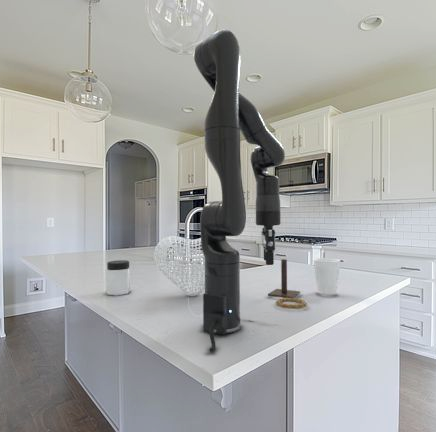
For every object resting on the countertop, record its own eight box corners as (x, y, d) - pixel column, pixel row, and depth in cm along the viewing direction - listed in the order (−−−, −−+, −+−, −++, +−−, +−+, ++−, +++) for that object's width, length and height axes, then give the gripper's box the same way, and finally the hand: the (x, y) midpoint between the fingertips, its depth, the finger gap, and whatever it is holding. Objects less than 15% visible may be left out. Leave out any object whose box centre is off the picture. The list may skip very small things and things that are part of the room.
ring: (301, 313, 92) (301, 307, 92) (271, 308, 97) (271, 302, 97) (309, 305, 100) (309, 299, 100) (281, 301, 105) (281, 295, 105)
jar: (126, 289, 124) (126, 259, 124) (133, 293, 118) (133, 261, 118) (103, 292, 119) (103, 261, 119) (109, 296, 112) (109, 264, 112)
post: (292, 301, 105) (292, 261, 105) (268, 297, 109) (267, 260, 110) (300, 295, 113) (299, 258, 113) (276, 292, 117) (276, 257, 117)
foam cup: (345, 295, 112) (345, 260, 112) (329, 299, 107) (329, 262, 107) (324, 290, 120) (323, 257, 120) (308, 294, 115) (308, 259, 115)
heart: (228, 290, 122) (228, 234, 122) (232, 300, 106) (232, 236, 106) (157, 291, 120) (157, 234, 120) (150, 302, 104) (150, 237, 104)
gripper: (254, 210, 101) (255, 259, 101) (256, 209, 87) (257, 266, 87) (277, 210, 101) (278, 259, 101) (283, 209, 87) (284, 266, 87)
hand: (268, 262), depth 94 cm, fingers open, 8 cm apart
